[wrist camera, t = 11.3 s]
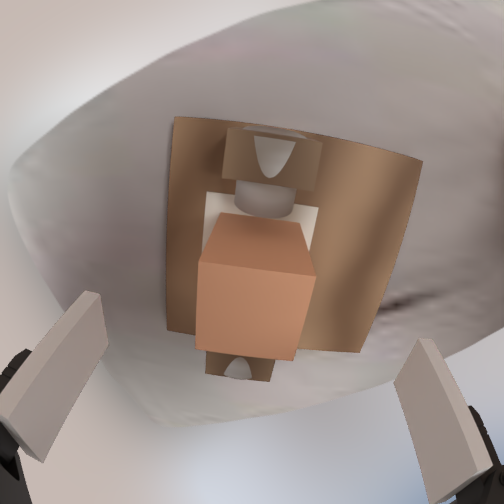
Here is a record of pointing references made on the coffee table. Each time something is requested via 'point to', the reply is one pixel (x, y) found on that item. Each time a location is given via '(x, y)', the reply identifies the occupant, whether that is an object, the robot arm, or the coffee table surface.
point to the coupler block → (253, 287)
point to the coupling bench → (294, 210)
